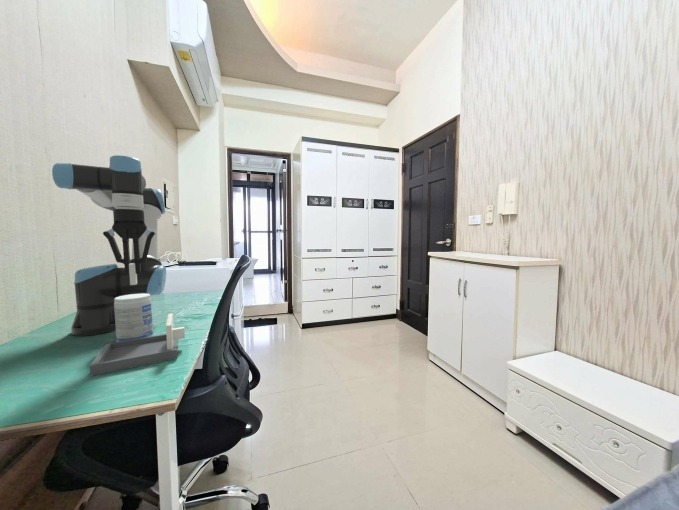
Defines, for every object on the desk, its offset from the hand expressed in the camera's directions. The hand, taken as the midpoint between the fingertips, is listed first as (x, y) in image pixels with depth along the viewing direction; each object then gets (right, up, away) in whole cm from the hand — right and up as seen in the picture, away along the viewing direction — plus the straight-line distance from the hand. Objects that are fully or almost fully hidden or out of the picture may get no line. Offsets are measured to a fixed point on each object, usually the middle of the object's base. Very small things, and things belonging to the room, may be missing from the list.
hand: (133, 284), depth 84 cm
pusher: (+16, -18, -4) cm, 24 cm away
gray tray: (+9, -19, -8) cm, 23 cm away
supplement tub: (-1, -19, +2) cm, 19 cm away
